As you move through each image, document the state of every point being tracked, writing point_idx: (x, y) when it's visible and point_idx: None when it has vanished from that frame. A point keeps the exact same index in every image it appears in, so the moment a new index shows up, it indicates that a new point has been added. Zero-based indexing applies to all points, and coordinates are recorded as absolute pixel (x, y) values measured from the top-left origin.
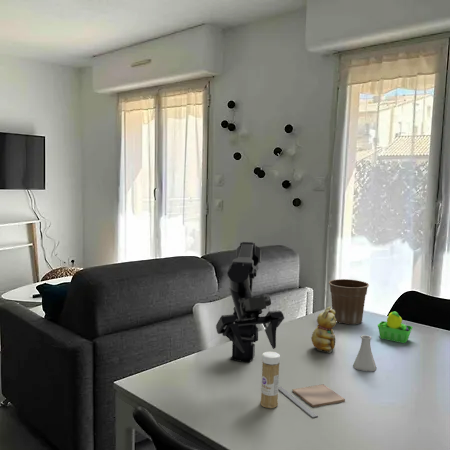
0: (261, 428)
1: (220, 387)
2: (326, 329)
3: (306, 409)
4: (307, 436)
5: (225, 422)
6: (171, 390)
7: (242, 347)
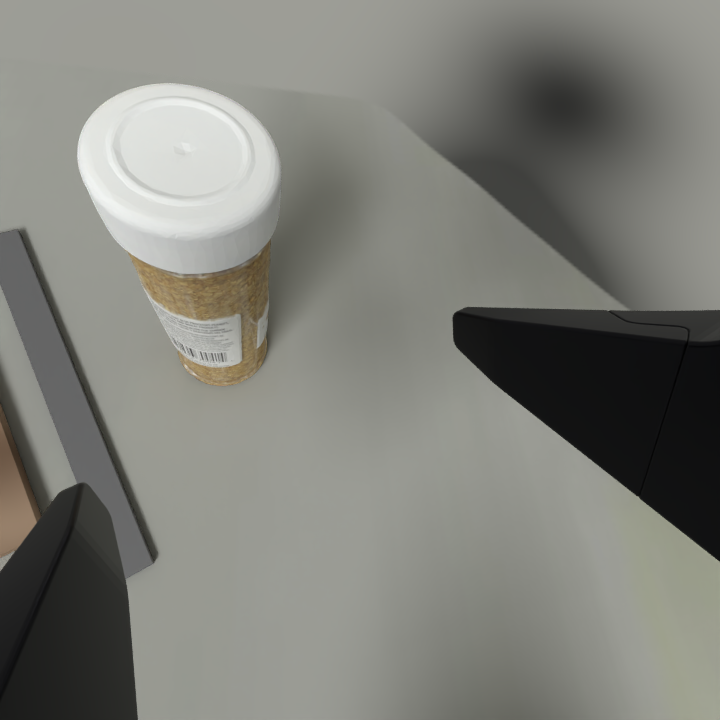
0: None
1: (467, 512)
2: None
3: (26, 295)
4: None
5: (396, 212)
6: None
7: (493, 310)
